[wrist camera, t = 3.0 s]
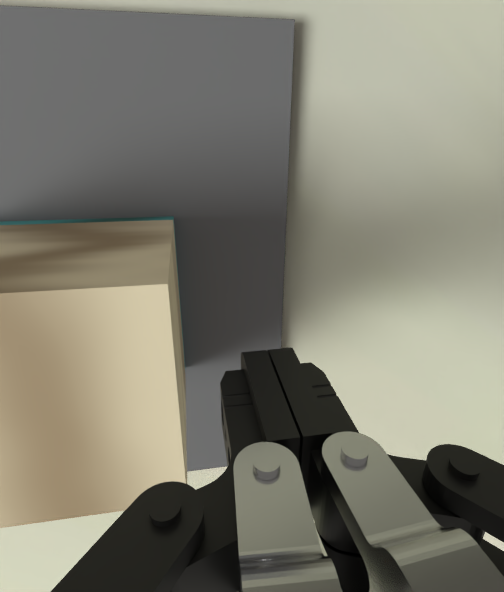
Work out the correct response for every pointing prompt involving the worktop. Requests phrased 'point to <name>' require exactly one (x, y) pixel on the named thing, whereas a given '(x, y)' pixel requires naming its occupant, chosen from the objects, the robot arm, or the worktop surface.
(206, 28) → the rubber mat
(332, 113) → the worktop surface
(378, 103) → the worktop surface
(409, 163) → the worktop surface
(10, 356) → the birch cube
